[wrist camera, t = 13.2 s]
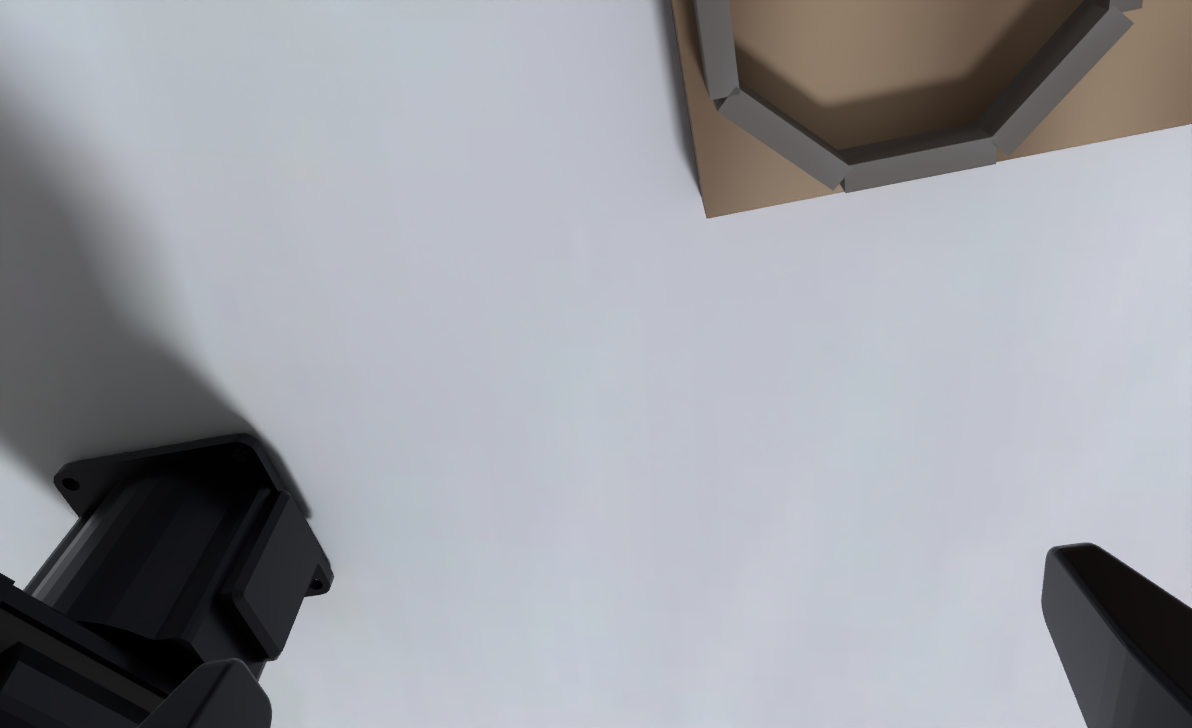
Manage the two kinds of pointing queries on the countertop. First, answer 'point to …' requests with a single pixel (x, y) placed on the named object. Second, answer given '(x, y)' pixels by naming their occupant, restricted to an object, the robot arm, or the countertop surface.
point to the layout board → (915, 87)
